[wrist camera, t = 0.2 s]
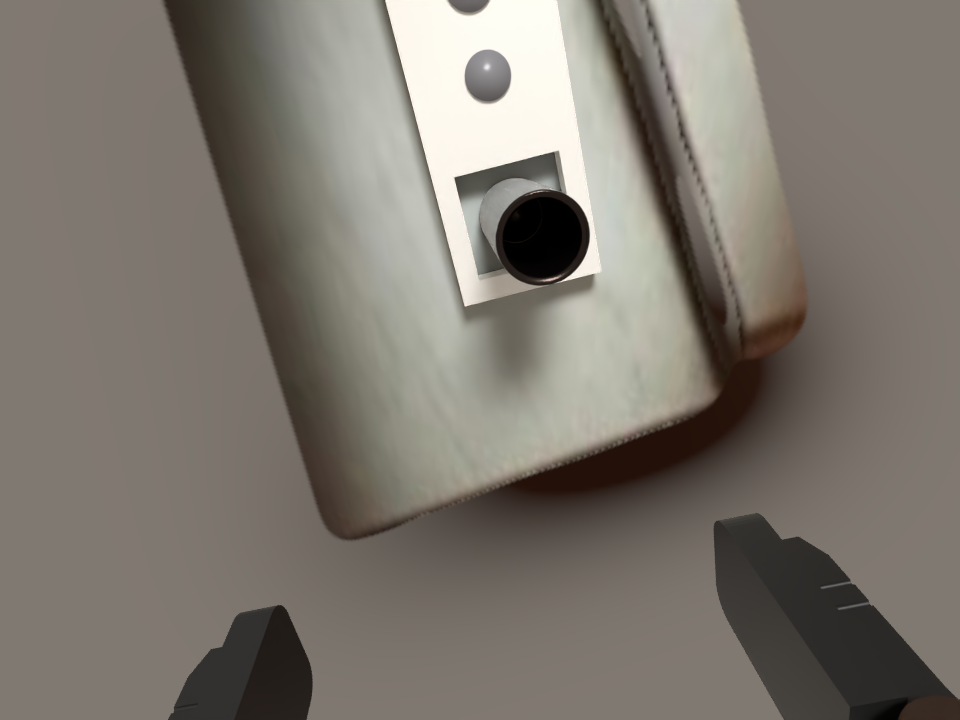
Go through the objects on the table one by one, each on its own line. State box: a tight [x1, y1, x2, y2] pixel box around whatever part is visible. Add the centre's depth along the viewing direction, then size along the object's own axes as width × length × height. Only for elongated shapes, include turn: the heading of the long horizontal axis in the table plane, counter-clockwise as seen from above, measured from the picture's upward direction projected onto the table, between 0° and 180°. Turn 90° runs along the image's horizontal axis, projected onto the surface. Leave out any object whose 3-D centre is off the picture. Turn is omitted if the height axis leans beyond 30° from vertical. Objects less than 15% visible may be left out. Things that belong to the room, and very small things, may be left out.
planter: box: [480, 178, 590, 286], centre depth 32 cm, size 4×4×10 cm
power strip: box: [385, 0, 601, 306], centre depth 32 cm, size 28×9×2 cm, turn 14°
